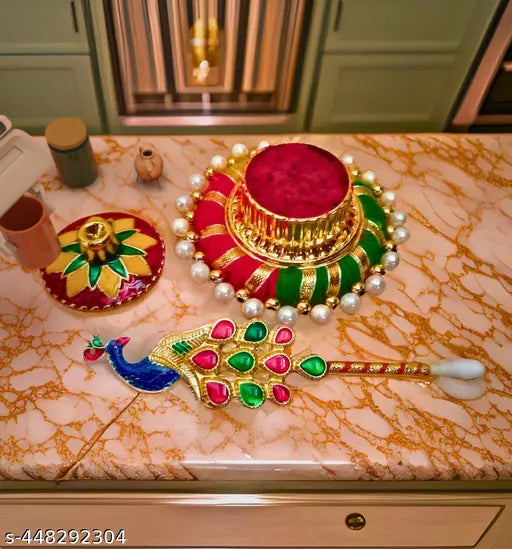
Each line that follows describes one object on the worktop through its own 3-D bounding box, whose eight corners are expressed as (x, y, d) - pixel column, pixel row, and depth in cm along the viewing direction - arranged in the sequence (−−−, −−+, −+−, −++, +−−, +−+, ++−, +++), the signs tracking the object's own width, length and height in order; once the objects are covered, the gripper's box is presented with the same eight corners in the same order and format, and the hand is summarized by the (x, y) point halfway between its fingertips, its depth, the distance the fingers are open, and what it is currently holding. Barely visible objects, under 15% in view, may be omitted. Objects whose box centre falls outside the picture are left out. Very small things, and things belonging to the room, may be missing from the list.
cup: (23, 276, 85) (3, 240, 77) (9, 243, 88) (-11, 205, 80) (67, 258, 87) (52, 221, 79) (52, 226, 90) (36, 188, 82)
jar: (67, 193, 118) (52, 151, 108) (54, 168, 122) (38, 125, 112) (104, 179, 121) (92, 137, 110) (90, 154, 124) (77, 111, 114)
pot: (142, 168, 123) (132, 188, 119) (139, 138, 117) (128, 157, 113) (169, 173, 123) (159, 193, 119) (167, 143, 117) (157, 163, 113)
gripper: (-103, 208, 69) (-11, 284, 75) (12, 107, 79) (85, 182, 86) (-112, 217, 74) (-25, 288, 80) (-3, 121, 84) (67, 190, 90)
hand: (32, 232), depth 83 cm, fingers closed on cup, 7 cm apart
